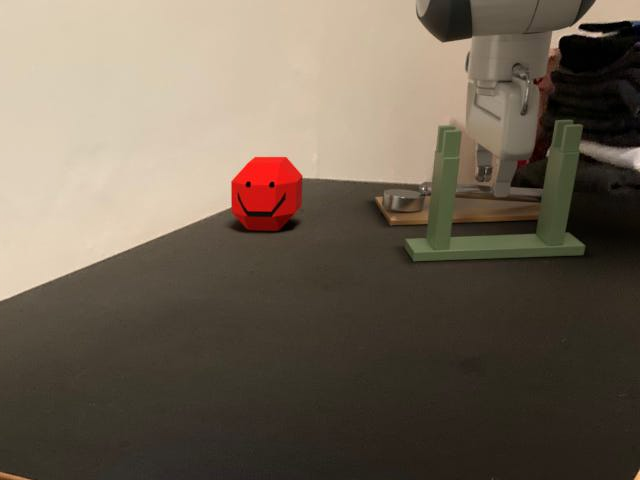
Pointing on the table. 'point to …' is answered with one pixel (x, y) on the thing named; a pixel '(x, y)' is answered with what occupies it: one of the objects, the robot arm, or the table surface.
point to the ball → (266, 193)
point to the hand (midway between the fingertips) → (490, 188)
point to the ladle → (415, 200)
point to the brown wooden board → (466, 211)
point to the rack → (541, 244)
